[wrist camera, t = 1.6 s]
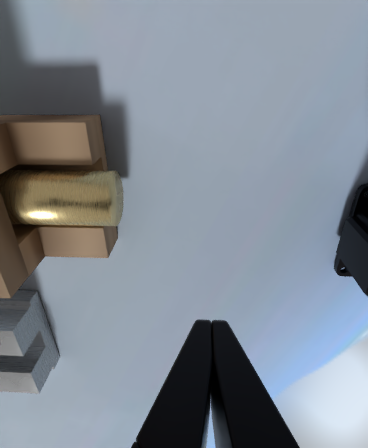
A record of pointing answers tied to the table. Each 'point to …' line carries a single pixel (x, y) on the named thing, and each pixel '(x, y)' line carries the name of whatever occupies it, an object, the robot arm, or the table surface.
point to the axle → (62, 197)
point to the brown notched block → (49, 160)
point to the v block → (25, 343)
